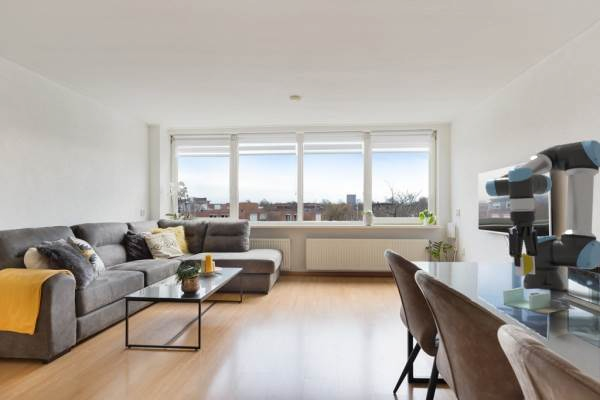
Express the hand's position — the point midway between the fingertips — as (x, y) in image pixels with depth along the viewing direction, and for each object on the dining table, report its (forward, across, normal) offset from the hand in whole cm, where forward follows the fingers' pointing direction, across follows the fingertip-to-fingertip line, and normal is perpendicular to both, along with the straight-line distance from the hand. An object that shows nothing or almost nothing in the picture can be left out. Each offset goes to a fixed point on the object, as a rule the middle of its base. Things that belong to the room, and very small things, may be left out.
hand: (525, 274), depth 128 cm
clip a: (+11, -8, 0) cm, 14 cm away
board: (+12, -4, +2) cm, 13 cm away
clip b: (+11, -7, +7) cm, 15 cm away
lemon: (+1, 0, 0) cm, 1 cm away
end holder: (+11, 0, 0) cm, 11 cm away
